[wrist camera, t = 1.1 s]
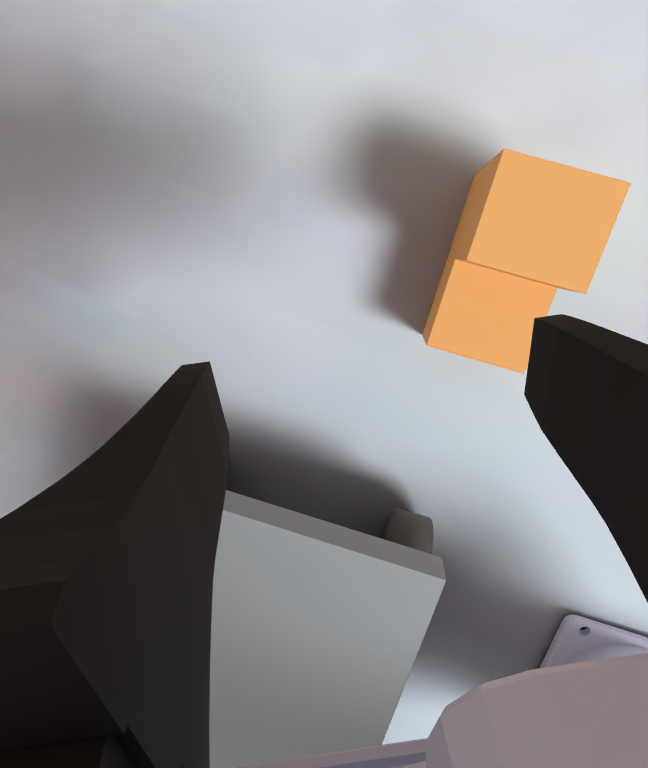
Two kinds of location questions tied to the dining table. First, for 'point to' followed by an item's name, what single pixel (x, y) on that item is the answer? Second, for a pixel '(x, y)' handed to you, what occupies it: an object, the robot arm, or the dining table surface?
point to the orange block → (519, 254)
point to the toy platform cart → (313, 630)
